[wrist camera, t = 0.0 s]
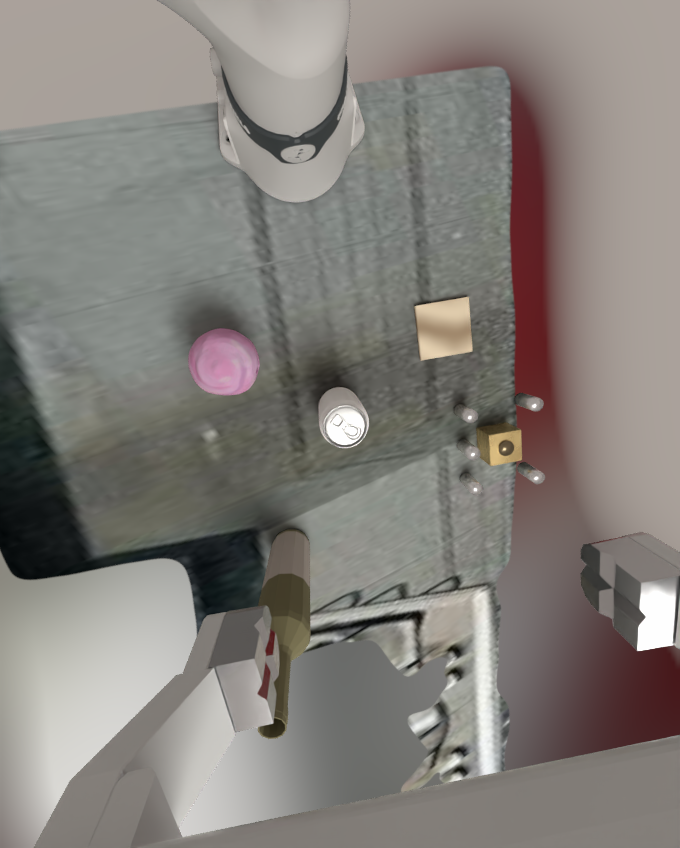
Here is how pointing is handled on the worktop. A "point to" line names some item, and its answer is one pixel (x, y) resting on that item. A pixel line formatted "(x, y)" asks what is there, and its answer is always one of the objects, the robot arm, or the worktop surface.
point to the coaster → (443, 328)
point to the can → (342, 418)
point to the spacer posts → (475, 453)
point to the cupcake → (223, 362)
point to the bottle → (287, 613)
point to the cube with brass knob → (499, 443)
